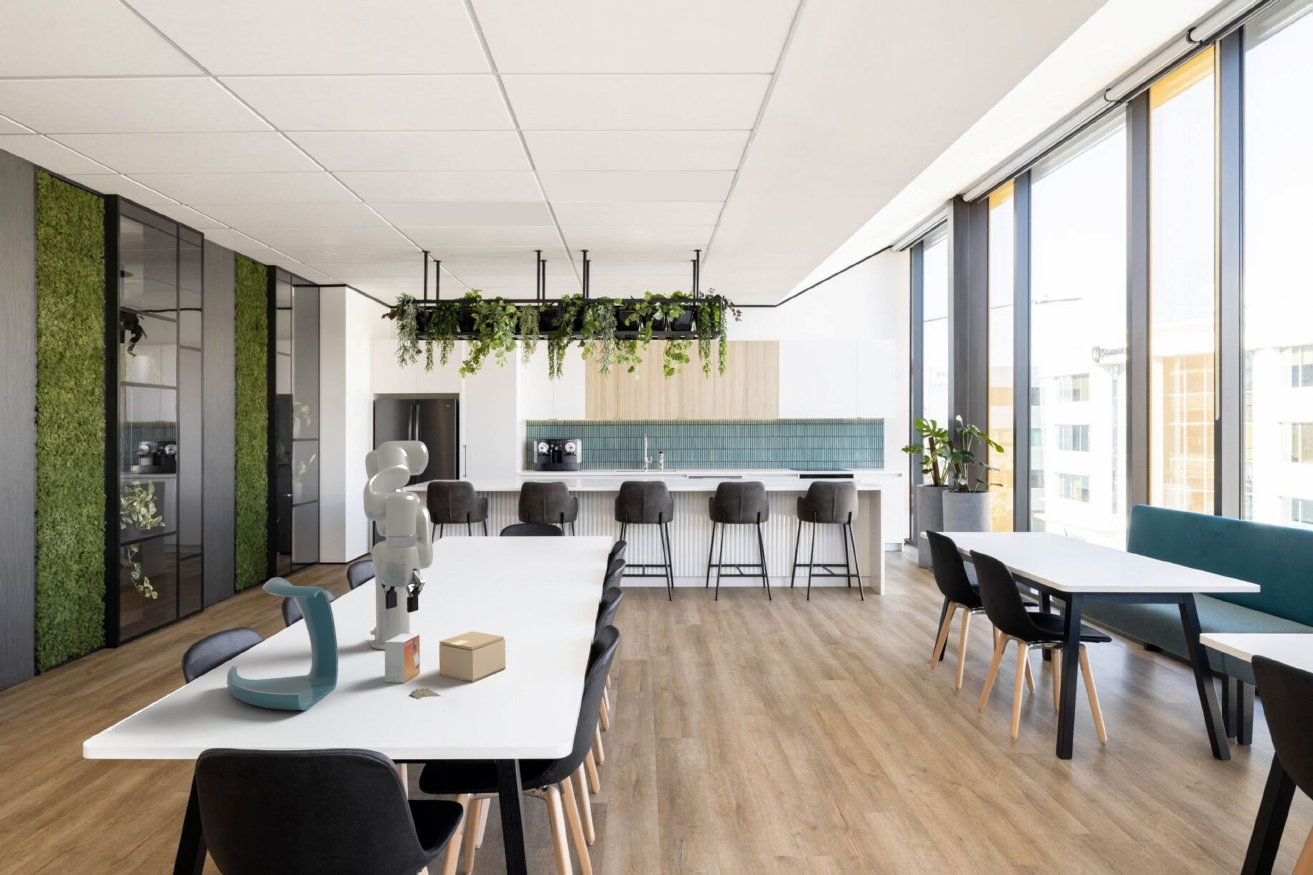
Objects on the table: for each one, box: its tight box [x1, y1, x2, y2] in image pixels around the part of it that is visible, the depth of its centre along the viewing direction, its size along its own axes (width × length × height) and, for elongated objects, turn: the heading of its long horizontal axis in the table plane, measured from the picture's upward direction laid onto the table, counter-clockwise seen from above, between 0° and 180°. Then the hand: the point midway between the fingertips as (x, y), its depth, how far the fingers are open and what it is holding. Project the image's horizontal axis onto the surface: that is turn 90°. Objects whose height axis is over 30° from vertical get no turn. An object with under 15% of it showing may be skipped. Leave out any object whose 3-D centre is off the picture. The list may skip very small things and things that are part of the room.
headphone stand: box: [226, 576, 339, 711], centre depth 176 cm, size 26×28×28 cm
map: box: [410, 687, 442, 700], centre depth 170 cm, size 5×20×1 cm, turn 46°
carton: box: [438, 638, 506, 683], centre depth 191 cm, size 12×12×8 cm
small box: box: [384, 633, 421, 684], centre depth 188 cm, size 8×6×10 cm
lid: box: [439, 631, 505, 650], centre depth 191 cm, size 12×12×1 cm
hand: (402, 609), depth 188 cm, fingers open, 7 cm apart
